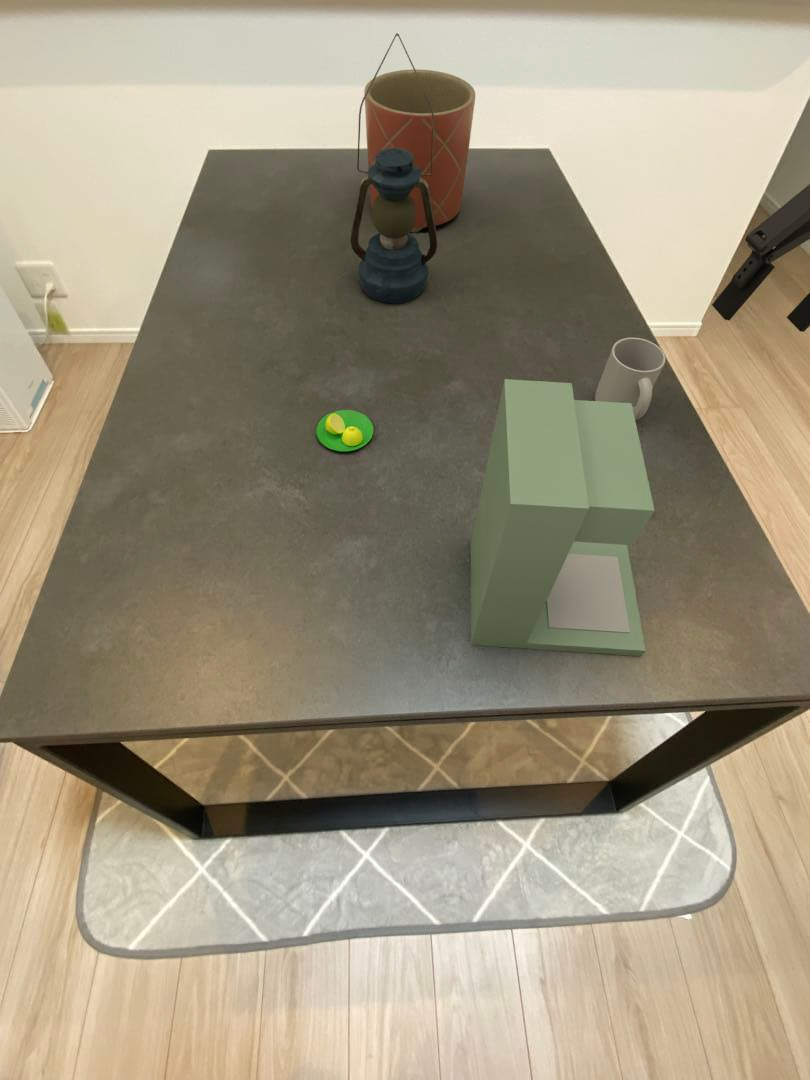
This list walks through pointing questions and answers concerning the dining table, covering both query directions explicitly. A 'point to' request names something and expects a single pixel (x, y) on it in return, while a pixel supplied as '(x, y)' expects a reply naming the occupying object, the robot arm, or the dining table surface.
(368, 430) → the plate with lemons
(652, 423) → the dining table surface
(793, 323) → the robot arm
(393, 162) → the lantern
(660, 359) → the cup
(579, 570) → the coffee maker
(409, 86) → the planter
